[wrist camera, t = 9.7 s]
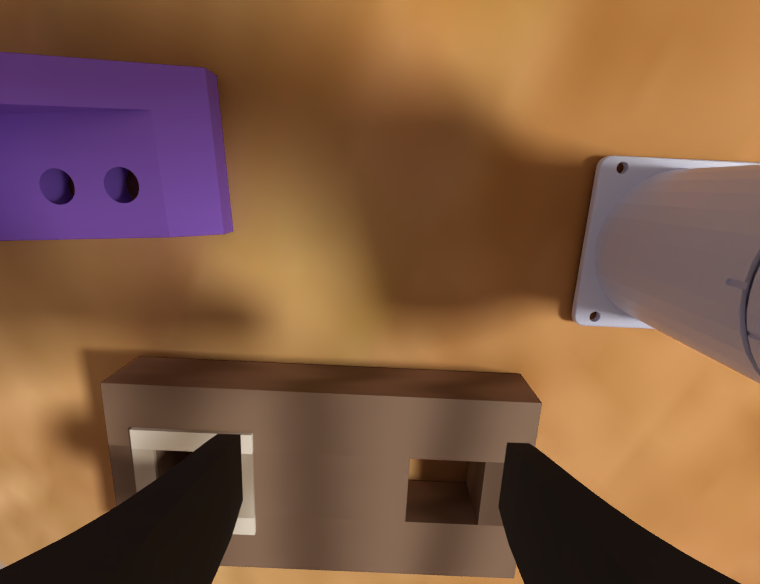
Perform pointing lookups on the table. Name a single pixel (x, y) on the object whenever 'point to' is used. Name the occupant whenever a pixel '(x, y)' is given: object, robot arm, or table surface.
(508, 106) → the table surface
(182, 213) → the bracket
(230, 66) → the table surface
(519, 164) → the table surface
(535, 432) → the board
